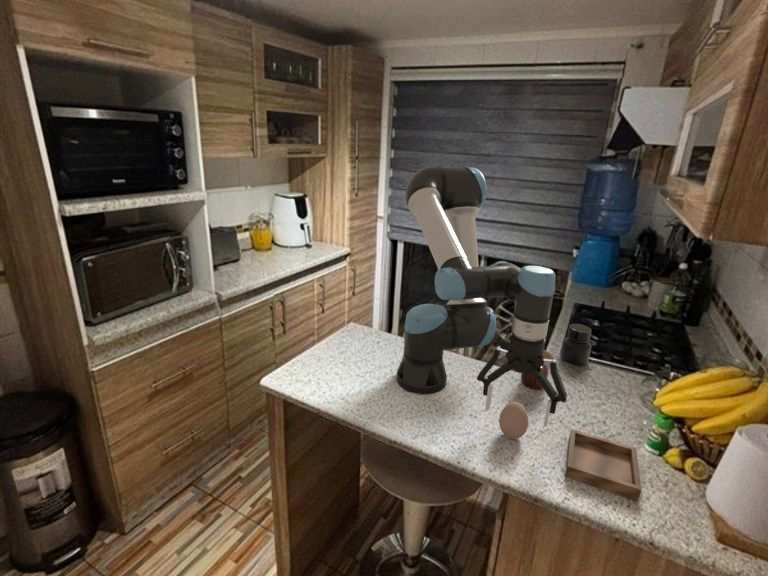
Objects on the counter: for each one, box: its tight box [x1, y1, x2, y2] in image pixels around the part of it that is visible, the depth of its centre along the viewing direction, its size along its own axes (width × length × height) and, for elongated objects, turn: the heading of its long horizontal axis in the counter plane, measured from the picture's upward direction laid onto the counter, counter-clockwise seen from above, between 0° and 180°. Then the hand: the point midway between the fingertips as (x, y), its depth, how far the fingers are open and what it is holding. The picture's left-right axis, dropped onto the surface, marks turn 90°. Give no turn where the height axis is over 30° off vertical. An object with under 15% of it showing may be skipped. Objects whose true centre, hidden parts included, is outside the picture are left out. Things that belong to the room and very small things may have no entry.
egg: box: [498, 401, 529, 440], centre depth 102 cm, size 7×7×10 cm
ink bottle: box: [559, 323, 592, 367], centre depth 140 cm, size 10×9×12 cm
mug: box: [520, 349, 555, 391], centre depth 123 cm, size 12×9×10 cm
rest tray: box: [564, 428, 642, 502], centre depth 94 cm, size 14×14×3 cm
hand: (516, 414), depth 101 cm, fingers open, 13 cm apart
